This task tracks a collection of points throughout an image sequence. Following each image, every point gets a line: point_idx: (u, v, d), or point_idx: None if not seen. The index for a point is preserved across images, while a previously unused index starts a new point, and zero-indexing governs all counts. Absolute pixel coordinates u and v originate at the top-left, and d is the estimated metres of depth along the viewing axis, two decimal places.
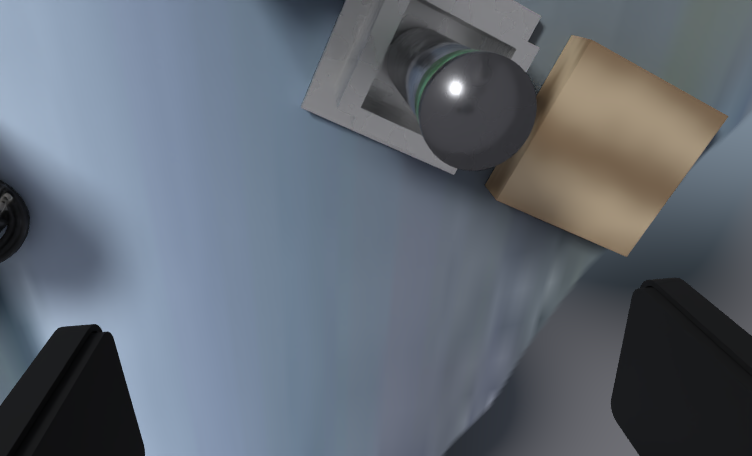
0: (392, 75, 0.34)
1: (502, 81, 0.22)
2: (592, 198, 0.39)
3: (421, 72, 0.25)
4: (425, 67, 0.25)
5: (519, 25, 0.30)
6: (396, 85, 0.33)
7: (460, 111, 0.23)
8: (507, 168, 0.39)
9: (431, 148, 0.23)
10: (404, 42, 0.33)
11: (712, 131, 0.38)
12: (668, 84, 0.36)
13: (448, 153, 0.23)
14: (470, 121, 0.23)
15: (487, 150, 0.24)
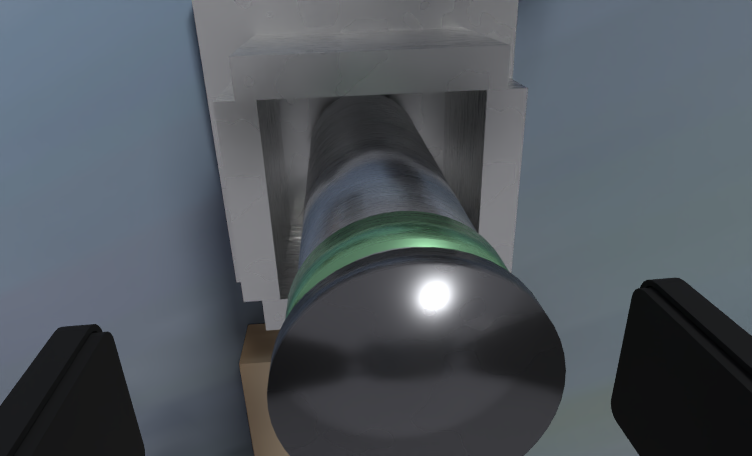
0: (331, 120, 0.19)
1: (511, 398, 0.09)
2: None
3: (405, 194, 0.11)
4: (419, 198, 0.11)
5: None
6: (323, 137, 0.18)
7: (405, 359, 0.09)
8: None
9: (282, 349, 0.08)
10: (390, 112, 0.19)
11: None
12: None
13: (294, 388, 0.09)
14: (394, 389, 0.09)
15: (349, 452, 0.09)
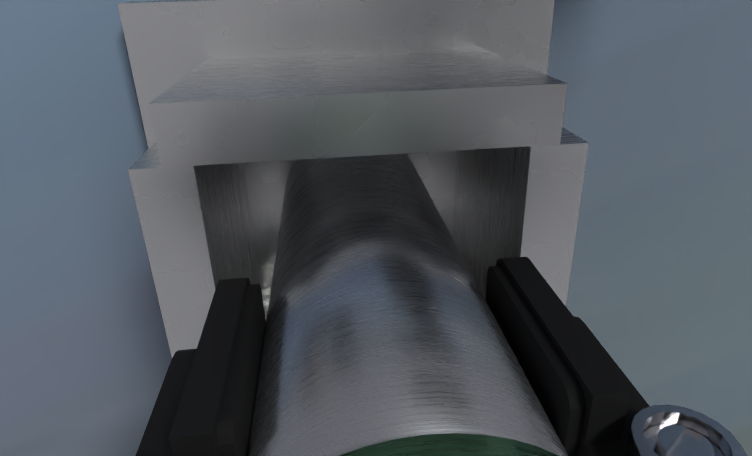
0: (309, 176, 0.14)
1: None
2: None
3: (427, 366, 0.07)
4: (451, 371, 0.07)
5: None
6: (297, 204, 0.13)
7: None
8: None
9: None
10: (389, 165, 0.14)
11: None
12: None
13: None
14: None
15: None
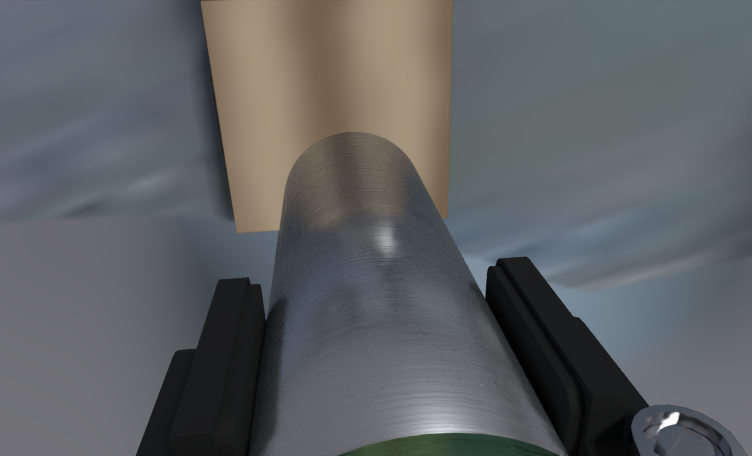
0: (309, 175, 0.14)
1: None
2: (279, 135, 0.28)
3: (427, 365, 0.06)
4: (451, 370, 0.07)
5: None
6: (297, 203, 0.13)
7: None
8: None
9: None
10: (389, 165, 0.14)
11: None
12: (448, 124, 0.29)
13: None
14: None
15: None
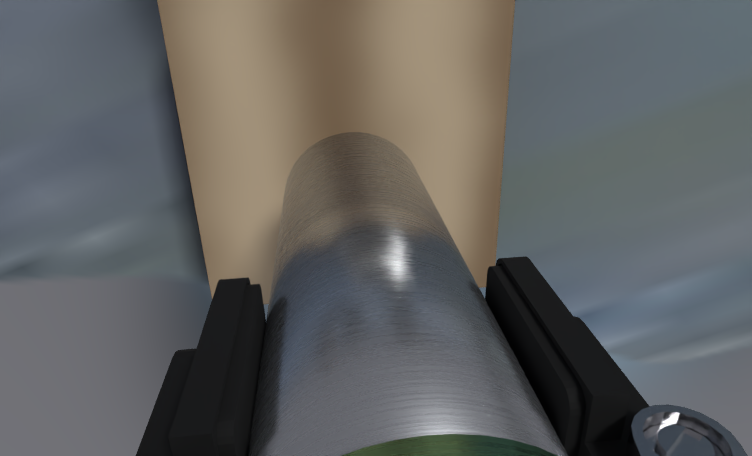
0: (309, 176, 0.14)
1: None
2: (270, 181, 0.21)
3: (427, 366, 0.06)
4: (451, 371, 0.06)
5: None
6: (297, 204, 0.13)
7: None
8: None
9: None
10: (389, 165, 0.14)
11: None
12: (500, 167, 0.21)
13: None
14: None
15: None
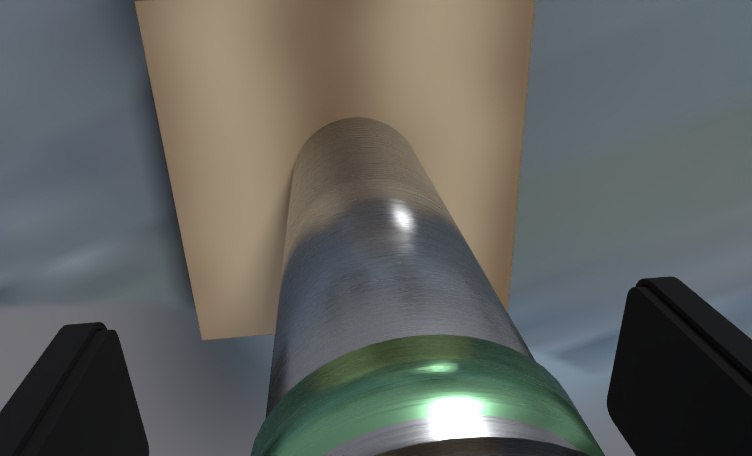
0: (317, 155, 0.15)
1: None
2: (263, 203, 0.19)
3: (422, 293, 0.08)
4: (442, 297, 0.08)
5: None
6: (306, 179, 0.14)
7: None
8: None
9: None
10: (390, 145, 0.15)
11: None
12: (516, 187, 0.19)
13: None
14: None
15: None
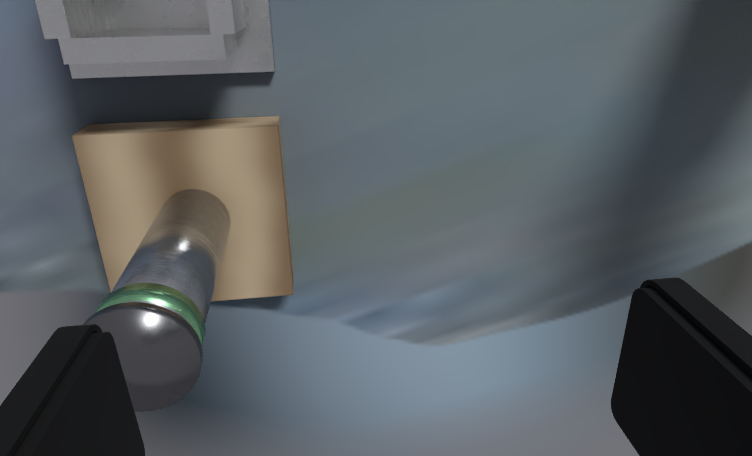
0: (161, 212, 0.32)
1: (178, 363, 0.22)
2: (145, 233, 0.35)
3: (153, 272, 0.24)
4: (160, 273, 0.24)
5: (232, 23, 0.27)
6: (151, 225, 0.31)
7: (126, 347, 0.21)
8: (116, 129, 0.33)
9: None
10: (196, 207, 0.32)
11: (273, 292, 0.38)
12: (285, 223, 0.36)
13: None
14: (124, 360, 0.22)
15: None
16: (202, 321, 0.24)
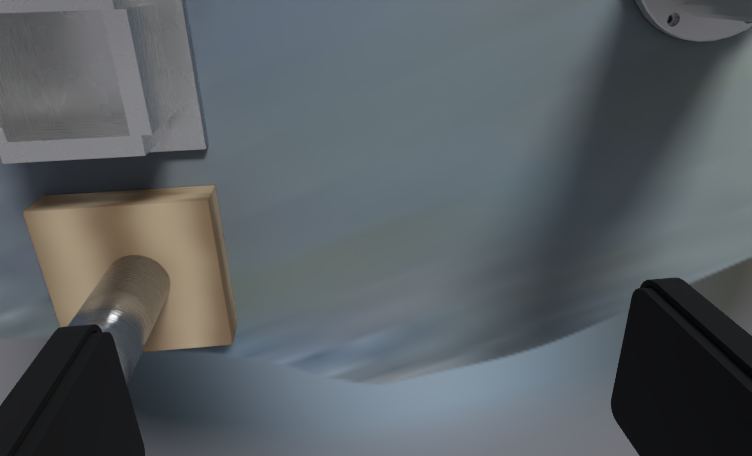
0: (101, 280, 0.35)
1: None
2: None
3: None
4: None
5: (148, 125, 0.30)
6: (90, 294, 0.34)
7: None
8: (63, 203, 0.37)
9: None
10: (131, 276, 0.35)
11: (214, 342, 0.41)
12: (220, 283, 0.39)
13: None
14: None
15: None
16: None
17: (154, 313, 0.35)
